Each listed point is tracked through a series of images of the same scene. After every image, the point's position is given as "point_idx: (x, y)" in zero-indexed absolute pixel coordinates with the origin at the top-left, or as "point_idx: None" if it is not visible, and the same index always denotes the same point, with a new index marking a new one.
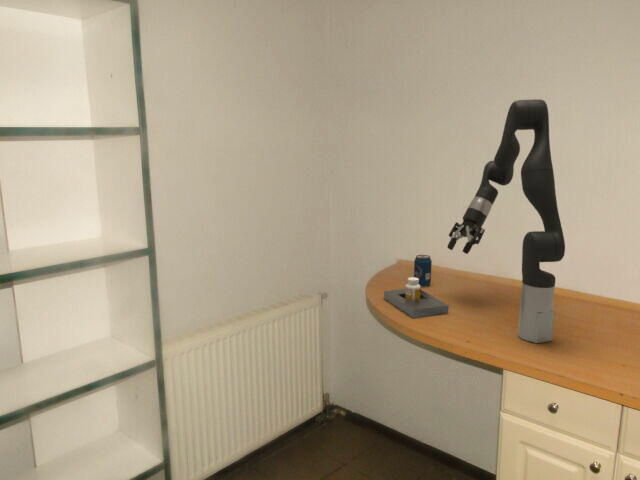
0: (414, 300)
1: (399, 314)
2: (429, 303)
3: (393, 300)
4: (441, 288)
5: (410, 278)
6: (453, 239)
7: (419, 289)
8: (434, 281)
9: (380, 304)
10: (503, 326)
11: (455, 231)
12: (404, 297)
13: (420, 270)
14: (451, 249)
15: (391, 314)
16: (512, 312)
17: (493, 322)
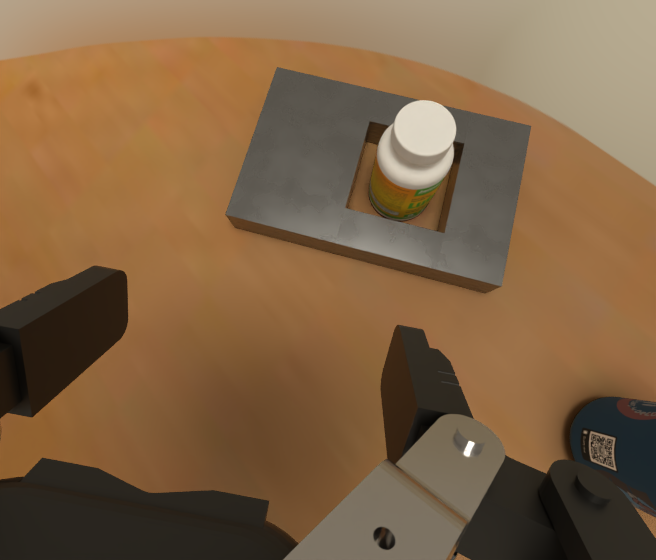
0: (357, 144)
1: (339, 81)
2: (291, 167)
3: None
4: None
5: (438, 118)
6: (413, 424)
7: (377, 165)
8: None
9: (464, 95)
10: (12, 288)
11: (460, 534)
12: (450, 185)
13: (652, 413)
14: (383, 371)
15: (355, 61)
16: None
17: None
